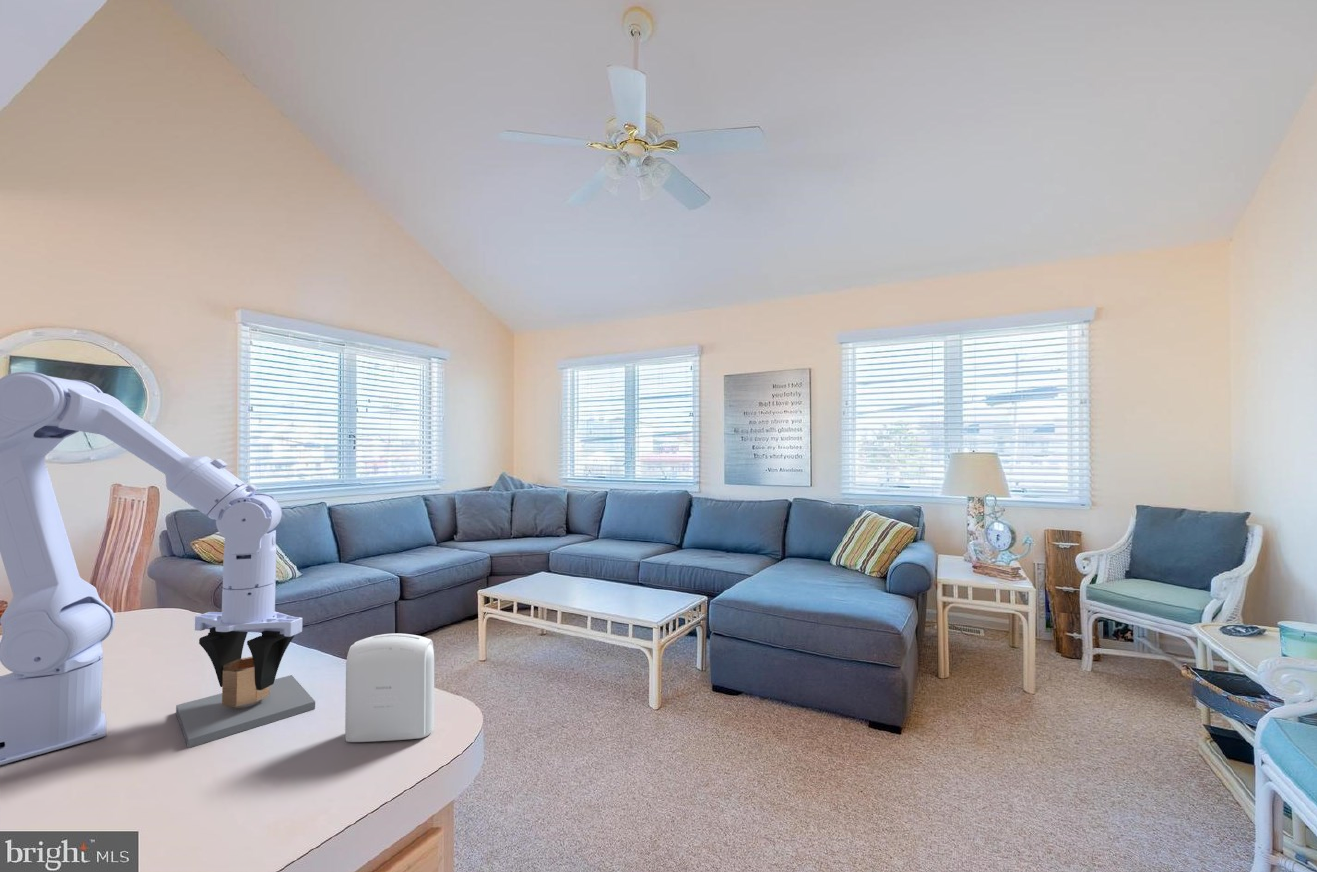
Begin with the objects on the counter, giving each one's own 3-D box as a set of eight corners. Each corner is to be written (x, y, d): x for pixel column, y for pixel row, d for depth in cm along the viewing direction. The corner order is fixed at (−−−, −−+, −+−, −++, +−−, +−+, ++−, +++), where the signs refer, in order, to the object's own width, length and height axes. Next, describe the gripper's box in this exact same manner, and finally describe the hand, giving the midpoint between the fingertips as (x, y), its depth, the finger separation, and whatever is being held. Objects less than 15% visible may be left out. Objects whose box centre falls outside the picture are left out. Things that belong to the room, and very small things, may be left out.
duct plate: (188, 747, 63) (189, 718, 63) (176, 712, 71) (176, 686, 71) (315, 708, 72) (315, 682, 72) (291, 681, 80) (292, 658, 80)
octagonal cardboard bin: (245, 707, 69) (246, 672, 69) (212, 704, 69) (213, 669, 69) (278, 689, 73) (279, 657, 74) (246, 687, 74) (247, 654, 74)
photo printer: (338, 746, 63) (340, 642, 64) (354, 727, 68) (357, 629, 68) (427, 742, 64) (429, 640, 65) (438, 723, 69) (440, 628, 69)
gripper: (172, 589, 69) (169, 694, 68) (272, 595, 67) (269, 703, 67) (223, 576, 76) (221, 671, 75) (315, 581, 74) (313, 679, 73)
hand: (246, 685), depth 71 cm, fingers closed on octagonal cardboard bin, 5 cm apart
